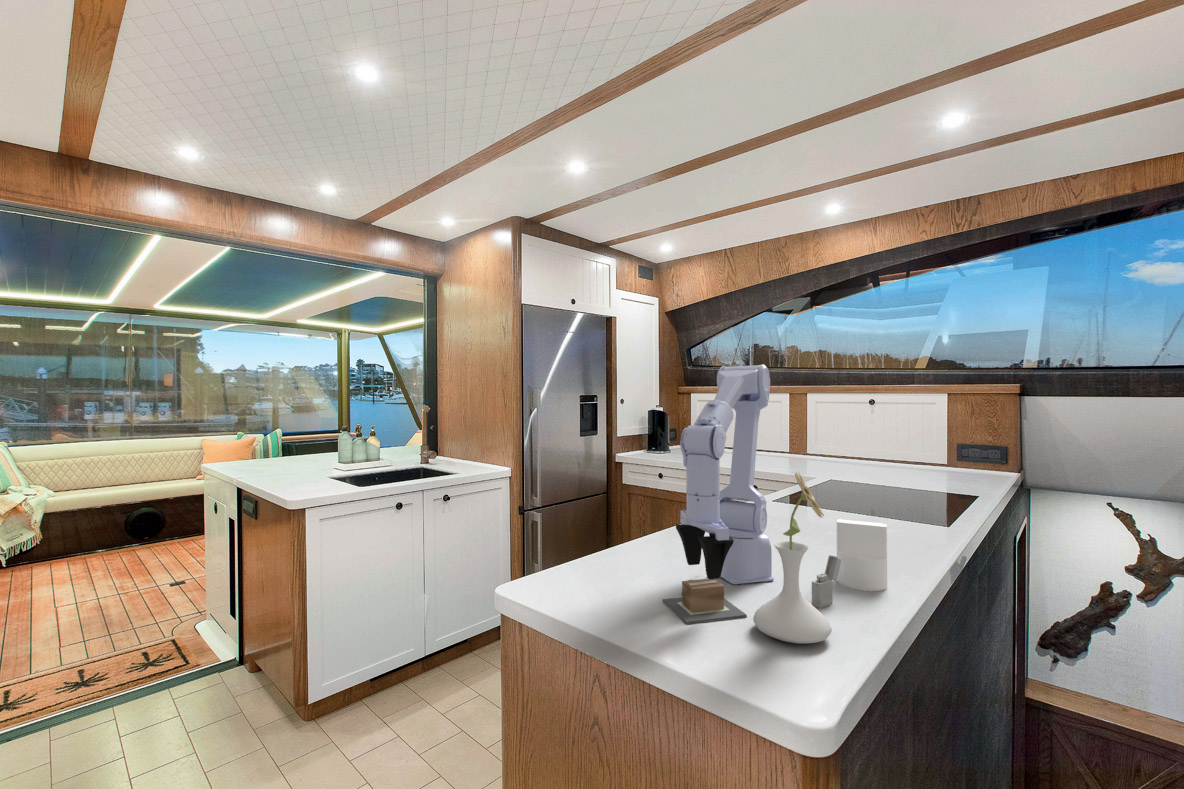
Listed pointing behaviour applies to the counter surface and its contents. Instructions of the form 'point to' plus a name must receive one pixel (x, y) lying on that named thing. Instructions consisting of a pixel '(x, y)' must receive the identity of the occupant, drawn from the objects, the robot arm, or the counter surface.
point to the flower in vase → (793, 592)
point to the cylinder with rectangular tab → (862, 554)
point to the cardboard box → (702, 595)
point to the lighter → (825, 583)
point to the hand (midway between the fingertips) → (703, 571)
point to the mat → (704, 616)
